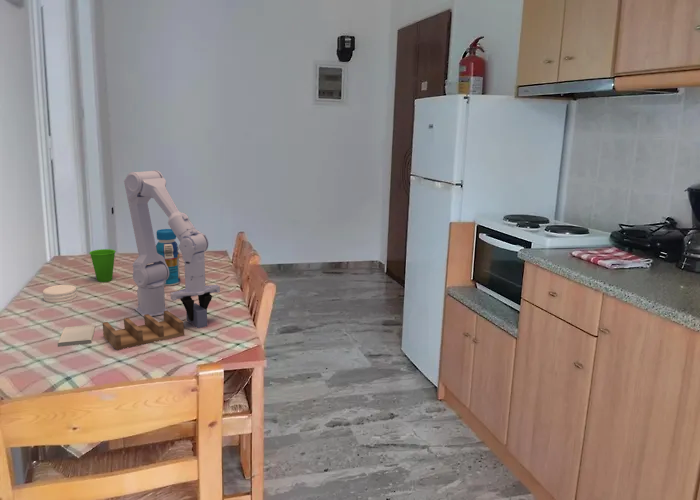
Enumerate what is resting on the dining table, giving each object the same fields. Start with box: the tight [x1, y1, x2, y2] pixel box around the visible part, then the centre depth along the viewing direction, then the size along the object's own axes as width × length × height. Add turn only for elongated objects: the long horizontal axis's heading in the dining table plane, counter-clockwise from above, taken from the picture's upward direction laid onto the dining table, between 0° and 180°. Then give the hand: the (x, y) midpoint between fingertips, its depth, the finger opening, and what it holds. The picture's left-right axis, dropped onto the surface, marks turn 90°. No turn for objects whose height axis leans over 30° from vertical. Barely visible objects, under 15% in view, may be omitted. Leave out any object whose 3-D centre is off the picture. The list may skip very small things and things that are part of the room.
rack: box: [102, 309, 185, 351], centre depth 156 cm, size 12×18×4 cm, turn 129°
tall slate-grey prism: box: [186, 302, 208, 329], centre depth 166 cm, size 8×3×5 cm, turn 39°
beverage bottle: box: [155, 228, 181, 287], centre depth 205 cm, size 8×8×20 cm
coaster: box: [42, 284, 78, 303], centre depth 187 cm, size 10×10×4 cm
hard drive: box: [57, 324, 96, 348], centre depth 154 cm, size 2×8×12 cm
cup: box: [89, 248, 117, 283], centre depth 208 cm, size 9×9×11 cm
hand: (196, 318), depth 166 cm, fingers closed on tall slate-grey prism, 3 cm apart
